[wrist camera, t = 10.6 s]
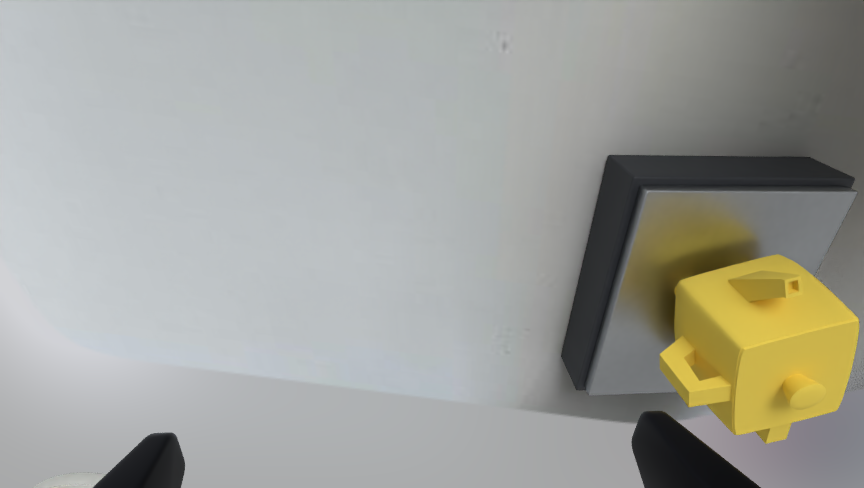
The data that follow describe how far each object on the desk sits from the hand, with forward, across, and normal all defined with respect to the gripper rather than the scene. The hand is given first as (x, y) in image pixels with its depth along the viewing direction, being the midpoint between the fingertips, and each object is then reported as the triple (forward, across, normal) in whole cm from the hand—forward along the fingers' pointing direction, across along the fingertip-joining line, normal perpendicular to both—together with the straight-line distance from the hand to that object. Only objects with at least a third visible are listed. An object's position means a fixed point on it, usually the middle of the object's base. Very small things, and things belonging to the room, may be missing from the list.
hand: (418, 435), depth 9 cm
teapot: (+9, -13, +4) cm, 16 cm away
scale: (+12, -13, +4) cm, 18 cm away
